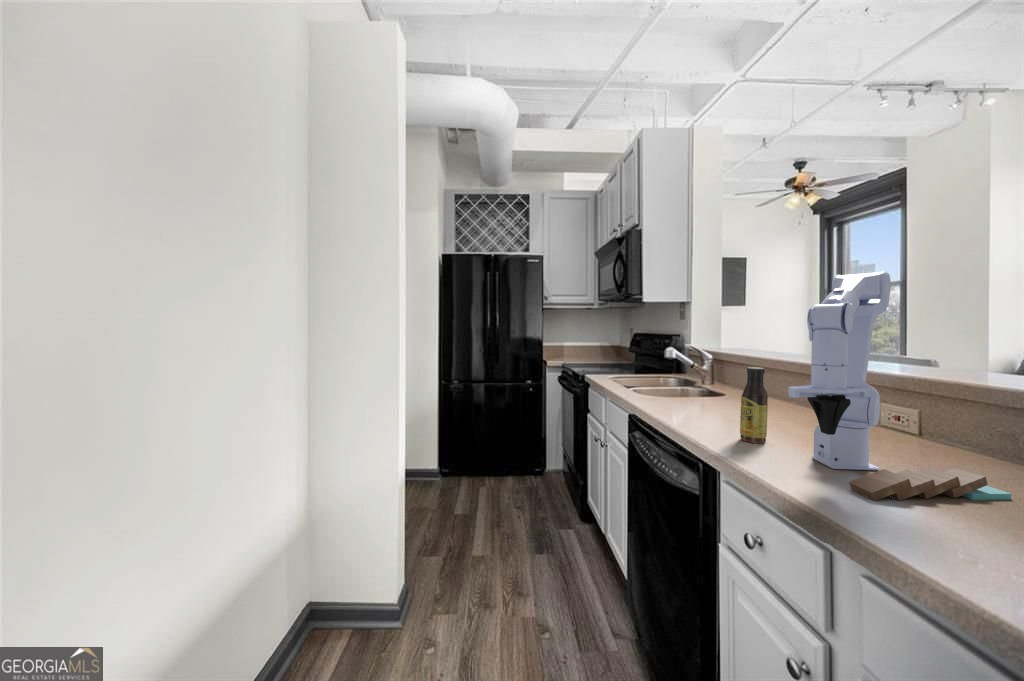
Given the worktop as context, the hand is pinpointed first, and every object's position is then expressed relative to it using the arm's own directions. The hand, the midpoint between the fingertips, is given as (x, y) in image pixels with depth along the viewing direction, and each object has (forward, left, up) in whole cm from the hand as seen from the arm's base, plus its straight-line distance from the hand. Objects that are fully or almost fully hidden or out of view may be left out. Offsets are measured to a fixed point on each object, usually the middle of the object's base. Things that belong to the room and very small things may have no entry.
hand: (827, 433), depth 84 cm
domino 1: (+2, -7, -9) cm, 11 cm away
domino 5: (+20, -5, -10) cm, 22 cm away
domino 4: (+16, -5, -9) cm, 19 cm away
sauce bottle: (-1, +29, -10) cm, 31 cm away
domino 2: (+6, -6, -9) cm, 12 cm away
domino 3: (+11, -5, -9) cm, 15 cm away
